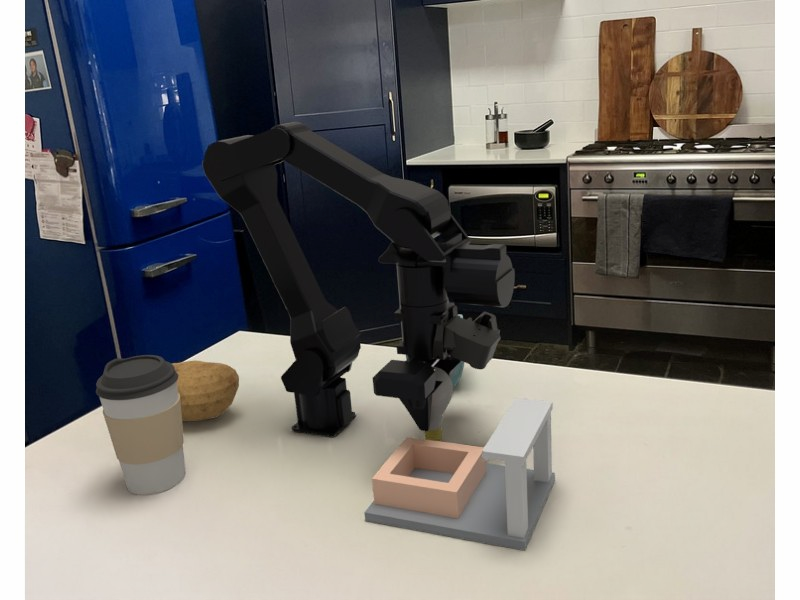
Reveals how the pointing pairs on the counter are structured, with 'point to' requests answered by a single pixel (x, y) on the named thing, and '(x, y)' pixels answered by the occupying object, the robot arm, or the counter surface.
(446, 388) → the light bulb
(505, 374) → the counter surface
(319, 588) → the counter surface
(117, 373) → the coffee cup
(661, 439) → the counter surface
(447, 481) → the socket stand
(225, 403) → the potato
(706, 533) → the counter surface
